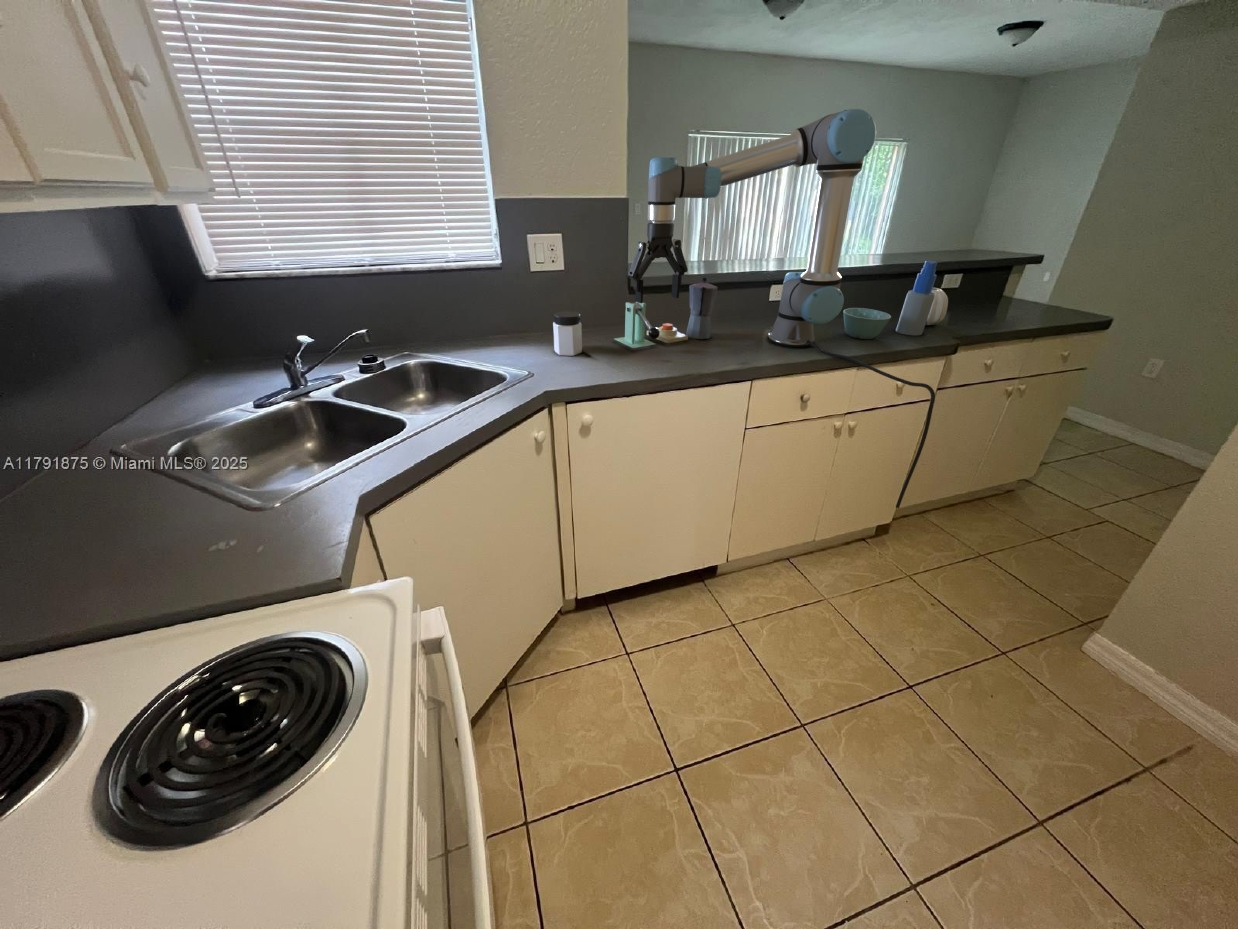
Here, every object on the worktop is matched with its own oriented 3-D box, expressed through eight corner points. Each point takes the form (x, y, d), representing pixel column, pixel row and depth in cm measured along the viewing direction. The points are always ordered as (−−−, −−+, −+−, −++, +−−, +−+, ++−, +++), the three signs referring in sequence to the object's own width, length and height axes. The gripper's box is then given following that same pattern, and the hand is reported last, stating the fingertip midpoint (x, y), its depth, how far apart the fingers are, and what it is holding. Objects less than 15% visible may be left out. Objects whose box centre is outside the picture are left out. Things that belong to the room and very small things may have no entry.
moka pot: (710, 332, 179) (717, 274, 169) (713, 344, 166) (720, 283, 156) (684, 330, 180) (689, 273, 170) (685, 343, 167) (691, 281, 156)
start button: (674, 330, 167) (675, 325, 166) (666, 331, 165) (666, 326, 164) (668, 327, 170) (668, 322, 169) (660, 329, 168) (660, 323, 167)
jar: (585, 354, 154) (584, 316, 148) (561, 357, 151) (559, 318, 145) (575, 346, 161) (574, 309, 155) (551, 349, 158) (549, 311, 152)
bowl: (893, 337, 176) (900, 314, 172) (868, 344, 169) (875, 320, 164) (854, 327, 187) (860, 306, 183) (829, 333, 180) (834, 311, 176)
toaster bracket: (655, 347, 162) (657, 304, 155) (633, 351, 158) (634, 308, 150) (635, 338, 170) (636, 297, 163) (613, 342, 166) (614, 300, 159)
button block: (687, 342, 167) (688, 331, 165) (666, 346, 163) (667, 334, 161) (666, 334, 176) (667, 322, 174) (646, 337, 172) (646, 326, 170)
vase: (911, 317, 204) (922, 283, 197) (947, 324, 195) (959, 289, 188) (896, 322, 196) (907, 287, 190) (933, 329, 187) (945, 293, 180)
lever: (659, 340, 154) (663, 331, 152) (650, 342, 153) (654, 333, 150) (636, 309, 161) (639, 300, 158) (627, 310, 159) (630, 301, 156)
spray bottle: (897, 327, 189) (918, 258, 176) (923, 331, 185) (946, 261, 172) (894, 332, 182) (916, 261, 170) (921, 336, 178) (945, 264, 166)
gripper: (686, 219, 145) (681, 293, 156) (616, 222, 133) (616, 302, 144) (703, 221, 140) (697, 297, 151) (631, 224, 128) (630, 307, 139)
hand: (657, 299), depth 147 cm, fingers open, 13 cm apart
